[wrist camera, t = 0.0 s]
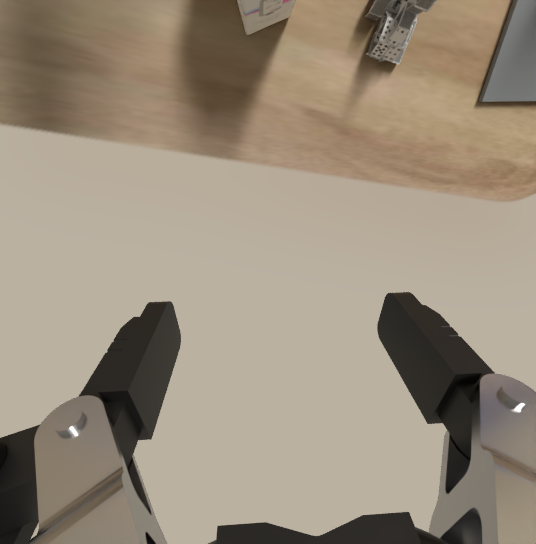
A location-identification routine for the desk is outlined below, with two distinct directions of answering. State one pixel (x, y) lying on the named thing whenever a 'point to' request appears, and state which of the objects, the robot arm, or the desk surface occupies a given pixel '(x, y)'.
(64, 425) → the robot arm
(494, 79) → the mat
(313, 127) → the desk surface
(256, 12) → the ink cartridge box
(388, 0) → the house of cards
